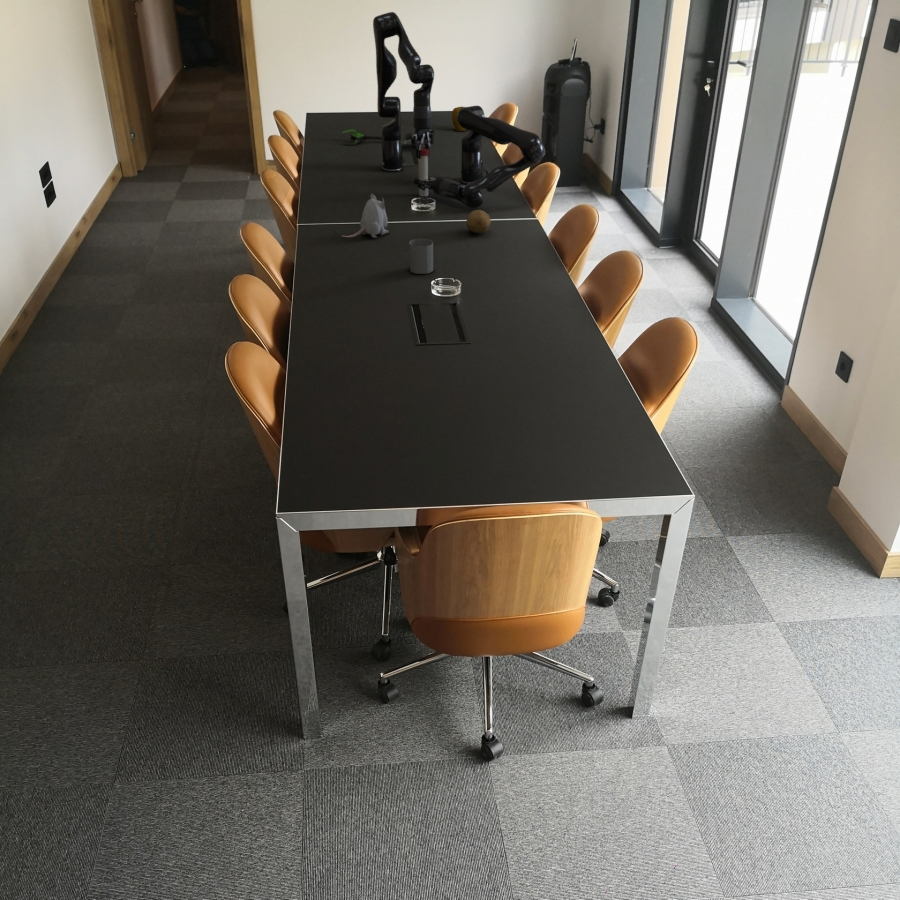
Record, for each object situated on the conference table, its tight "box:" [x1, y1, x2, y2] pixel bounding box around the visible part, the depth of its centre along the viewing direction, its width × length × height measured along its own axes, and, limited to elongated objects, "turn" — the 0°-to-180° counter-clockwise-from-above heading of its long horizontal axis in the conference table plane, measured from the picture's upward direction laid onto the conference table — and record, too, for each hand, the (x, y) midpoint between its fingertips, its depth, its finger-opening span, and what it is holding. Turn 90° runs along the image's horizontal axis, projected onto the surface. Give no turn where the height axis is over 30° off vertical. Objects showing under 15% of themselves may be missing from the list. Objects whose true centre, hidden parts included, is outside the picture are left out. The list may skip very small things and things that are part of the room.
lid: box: [420, 147, 430, 156], centre depth 375 cm, size 5×5×2 cm
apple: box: [451, 105, 467, 132], centre depth 487 cm, size 11×11×13 cm
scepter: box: [340, 129, 382, 146], centre depth 465 cm, size 6×13×30 cm
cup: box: [408, 237, 434, 275], centre depth 305 cm, size 8×8×10 cm
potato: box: [465, 209, 492, 234], centre depth 341 cm, size 10×14×8 cm
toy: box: [341, 193, 390, 239], centre depth 333 cm, size 9×24×15 cm, turn 137°
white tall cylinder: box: [417, 155, 429, 197], centre depth 380 cm, size 4×4×19 cm
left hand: (422, 156), depth 376 cm, fingers closed on lid, 5 cm apart
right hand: (419, 179), depth 384 cm, fingers closed on white tall cylinder, 4 cm apart
